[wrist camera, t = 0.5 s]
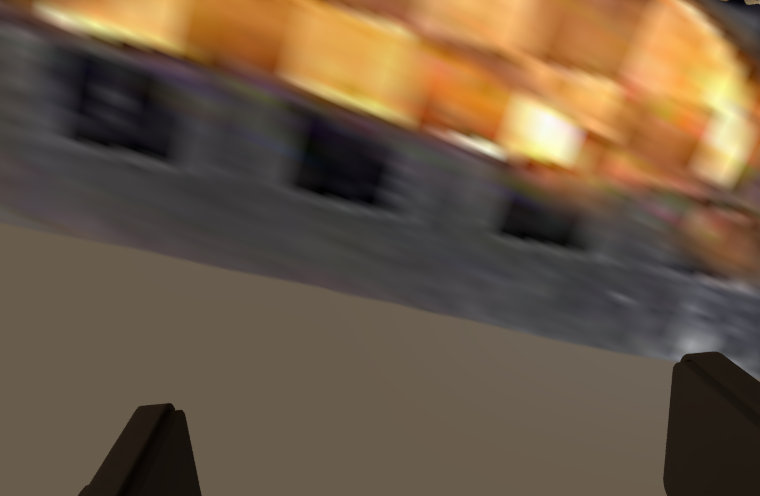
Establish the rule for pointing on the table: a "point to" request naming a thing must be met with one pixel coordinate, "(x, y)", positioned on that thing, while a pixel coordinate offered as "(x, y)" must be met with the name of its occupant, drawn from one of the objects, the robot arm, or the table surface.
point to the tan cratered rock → (748, 1)
